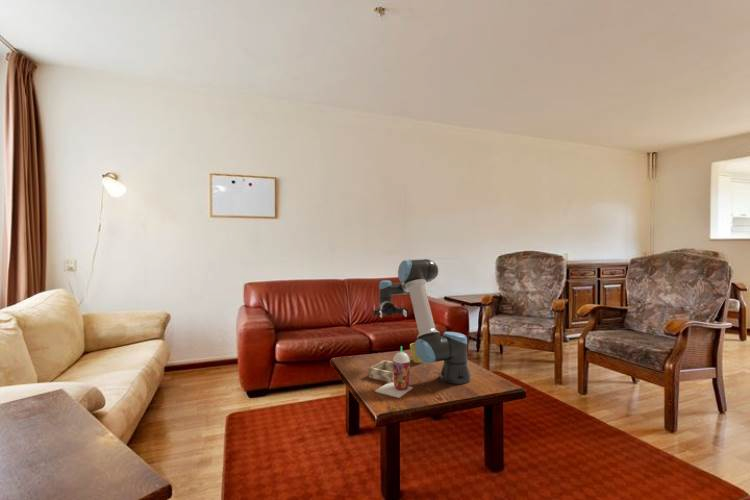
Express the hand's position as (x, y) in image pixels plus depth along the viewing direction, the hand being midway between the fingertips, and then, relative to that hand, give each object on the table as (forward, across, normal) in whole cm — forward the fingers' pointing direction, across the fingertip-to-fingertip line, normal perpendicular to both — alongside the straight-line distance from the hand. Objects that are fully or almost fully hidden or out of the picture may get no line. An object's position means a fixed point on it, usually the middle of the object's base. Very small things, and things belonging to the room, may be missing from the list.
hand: (393, 314), depth 203 cm
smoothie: (+28, +2, -30) cm, 41 cm away
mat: (+28, +5, -30) cm, 41 cm away
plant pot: (-10, -16, -30) cm, 36 cm away
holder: (+10, +5, -30) cm, 32 cm away
